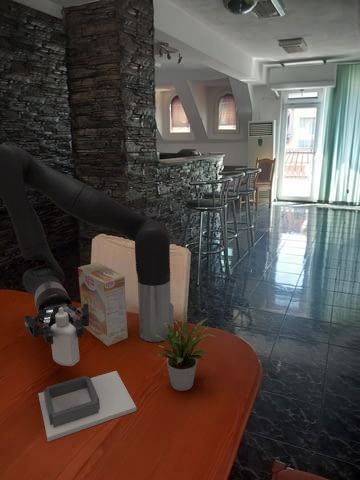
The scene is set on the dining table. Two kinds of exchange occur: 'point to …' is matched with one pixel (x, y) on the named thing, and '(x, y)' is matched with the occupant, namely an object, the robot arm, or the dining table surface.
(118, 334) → the coffeecake box
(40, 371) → the dining table surface
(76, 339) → the eye dropper bottle
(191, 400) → the dining table surface
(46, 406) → the bottle holder
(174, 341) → the house plant
